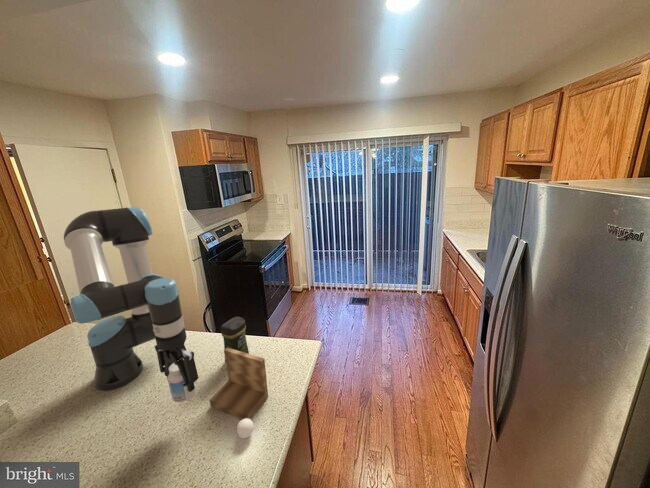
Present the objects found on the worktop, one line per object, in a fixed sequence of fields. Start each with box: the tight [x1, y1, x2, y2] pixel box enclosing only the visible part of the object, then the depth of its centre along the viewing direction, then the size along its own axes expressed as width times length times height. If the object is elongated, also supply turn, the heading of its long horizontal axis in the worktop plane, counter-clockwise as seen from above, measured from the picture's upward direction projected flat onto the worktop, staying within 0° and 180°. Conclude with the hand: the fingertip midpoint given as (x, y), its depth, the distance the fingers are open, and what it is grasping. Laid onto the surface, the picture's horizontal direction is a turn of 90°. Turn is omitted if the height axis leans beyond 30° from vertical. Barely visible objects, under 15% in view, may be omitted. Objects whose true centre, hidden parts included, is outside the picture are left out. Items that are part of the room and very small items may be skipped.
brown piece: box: [209, 348, 269, 421], centre depth 88 cm, size 16×11×16 cm, turn 67°
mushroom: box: [236, 418, 255, 439], centre depth 78 cm, size 5×5×5 cm
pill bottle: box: [167, 363, 187, 403], centre depth 80 cm, size 6×6×11 cm
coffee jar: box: [220, 316, 250, 364], centre depth 108 cm, size 10×8×19 cm
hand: (183, 394), depth 82 cm, fingers closed on pill bottle, 6 cm apart
